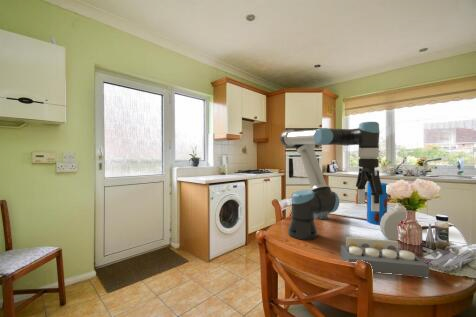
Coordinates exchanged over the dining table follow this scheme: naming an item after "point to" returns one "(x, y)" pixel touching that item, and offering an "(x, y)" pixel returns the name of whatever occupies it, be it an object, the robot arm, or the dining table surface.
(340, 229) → the dining table surface
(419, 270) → the board
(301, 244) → the dining table surface
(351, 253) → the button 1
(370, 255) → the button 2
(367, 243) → the card
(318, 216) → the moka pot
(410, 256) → the button
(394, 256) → the button
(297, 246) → the dining table surface
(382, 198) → the thermos
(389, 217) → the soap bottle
